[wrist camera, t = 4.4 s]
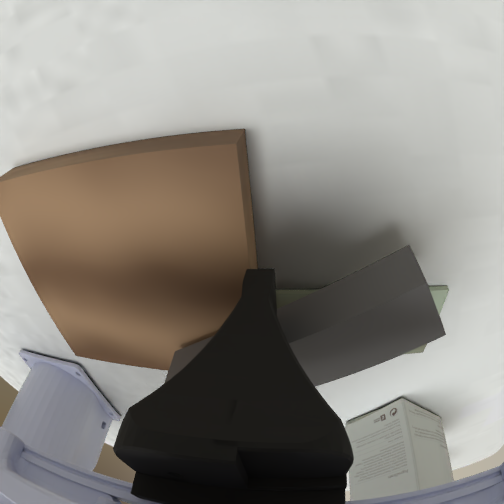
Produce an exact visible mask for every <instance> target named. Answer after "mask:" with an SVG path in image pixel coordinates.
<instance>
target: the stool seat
mask: <svg viewBox="0 0 504 504" xmlns="http://www.w3.org/2000/svg"><path fill="white" fill-rule="evenodd" d="M0 216H1V219H2V221H3V224H4V226H5V228H6V231H7V233H8V235H9V238H10V240H11V242H12V244H13V247H14V249H15V251H16V253H17V255H18V257H19V259H20V261H21V263H22V265H23V267H24V269H25V271H26V273H27V275H28V277H29V279H30V281H31V283H32V285H33V287H34V288H35V290H36V292H37V294H38V296H39V297H40V299H41V301H42V303H43V304H44V306H45V308H46V310H47V311H48V313H49V315H50V316H51V318H52V320H53V321H54V323H55V324H56V326H57V328H58V329H59V331H60V332H61V334H62V335H63V337H64V339H65V340H66V342H67V343H68V345H69V346H70V348H71V349H72V351H73V352H74V353H75V355H76V356H80V357H85V358H90V359H96V360H101V361H107V362H112V363H118V364H125V365H131V366H138V367H145V368H152V369H160V370H169V368H170V365H171V362H172V359H173V356H174V353H175V351H177V350H179V349H182V348H184V347H187V346H189V345H192V344H195V343H197V342H200V341H202V340H205V339H207V338H209V337H212V336H214V335H215V334H216V333H217V331H218V330H219V329H220V327H221V326H222V325H223V323H224V322H225V320H226V319H227V318H228V316H229V315H230V314H231V312H232V311H233V309H234V307H235V306H236V304H237V303H238V301H239V299H240V298H241V296H242V284H243V279H244V276H245V273H246V270H247V269H258V265H257V254H256V243H255V233H254V222H253V211H252V201H251V190H250V179H249V169H248V158H247V148H246V137H245V129H236V130H223V131H211V132H201V133H191V134H182V135H174V136H166V137H159V138H152V139H145V140H138V141H132V142H126V143H120V144H114V145H109V146H104V147H98V148H93V149H89V150H84V151H79V152H74V153H70V154H66V155H61V156H57V157H53V158H49V159H45V160H41V161H37V162H33V163H30V164H26V165H22V166H19V167H15V168H13V169H11V170H10V171H8V172H7V173H5V174H4V175H3V176H1V177H0ZM429 289H430V292H431V294H432V297H433V300H434V302H435V305H436V308H437V310H438V313H439V314H440V312H441V310H442V307H443V304H444V302H445V299H446V297H447V294H448V291H449V289H448V287H447V286H432V287H429ZM317 290H319V289H315V290H276V304H277V309H278V308H280V307H282V306H285V305H287V304H289V303H291V302H293V301H296V300H298V299H300V298H302V297H304V296H307V295H309V294H311V293H313V292H315V291H317ZM426 345H427V344H425V345H423V346H420V347H418V348H416V349H414V350H411V351H409V352H407V353H405V354H410V353H421V352H423V351H424V349H425V347H426Z"/></svg>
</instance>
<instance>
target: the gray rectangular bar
mask: <svg viewBox="0 0 504 504" xmlns="http://www.w3.org/2000/svg"><path fill="white" fill-rule="evenodd" d="M277 318H278V320H279V323H280V325H281V328H282V330H283V332H284V335H285V337H286V339H287V341H288V343H289V345H290V347H291V349H292V351H293V353H294V354H295V356H296V358H297V360H298V362H299V363H300V365H301V367H302V368H303V370H304V371H305V373H306V374H307V376H308V377H309V379H310V380H311V382H312V383H313V385H314V386H318V385H321V384H324V383H327V382H330V381H333V380H336V379H339V378H342V377H345V376H348V375H351V374H354V373H356V372H359V371H362V370H364V369H367V368H370V367H372V366H375V365H378V364H380V363H383V362H385V361H388V360H390V359H393V358H395V357H397V356H400V355H402V354H405V353H407V352H409V351H411V350H414V349H416V348H418V347H420V346H423V345H425V344H427V343H429V342H431V341H434V340H436V339H438V338H440V337H442V336H444V335H446V334H445V331H444V328H443V325H442V322H441V319H440V316H439V313H438V310H437V308H436V305H435V302H434V300H433V297H432V294H431V292H430V289H429V287H428V284H427V282H426V279H425V277H424V275H423V273H422V271H421V268H420V266H419V264H418V262H417V260H416V258H415V256H414V254H413V252H412V250H411V248H410V246H409V245H408V246H406V247H404V248H402V249H400V250H399V251H397V252H395V253H393V254H391V255H389V256H387V257H385V258H383V259H381V260H379V261H377V262H375V263H373V264H371V265H369V266H367V267H365V268H363V269H361V270H359V271H357V272H355V273H353V274H351V275H349V276H347V277H345V278H343V279H341V280H338V281H336V282H334V283H332V284H330V285H328V286H326V287H324V288H322V289H319V290H317V291H315V292H313V293H311V294H309V295H307V296H304V297H302V298H300V299H298V300H296V301H293V302H291V303H289V304H287V305H285V306H282V307H280V308H278V309H277ZM212 337H213V336H212ZM212 337H209V338H207V339H205V340H202V341H200V342H197V343H195V344H192V345H189V346H187V347H184V348H182V349H179V350H177V351H175V353H174V356H173V359H172V362H171V365H170V368H169V371H168V374H167V377H166V380H165V383H166V382H167V381H168V380H170V379H171V378H172V377H173V376H174V375H176V374H177V373H178V372H179V371H180V370H182V369H183V368H184V367H185V366H186V365H187V364H188V363H189V362H190V361H191V360H192V359H193V358H194V357H195V356H196V355H197V354H198V353H199V352H200V351H201V350H202V349H203V348H204V347H205V346H206V344H207V343H208V342H209V341H210V340H211V339H212ZM165 383H164V384H165Z"/></svg>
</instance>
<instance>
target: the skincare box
mask: <svg viewBox="0 0 504 504" xmlns="http://www.w3.org/2000/svg"><path fill="white" fill-rule="evenodd" d="M345 430H346V432H347V435H348V437H349V440H350V443H351V446H352V450H353V455H354V461H353V464H352V466H351V467H350V469H349V483H350V501H355V500H364V499H372V498H379V497H386V496H392V495H397V494H403V493H408V492H413V491H417V490H422V489H426V488H430V487H435V486H438V485H442V484H446V483H450V482H453V481H454V479H453V474H452V468H451V463H450V458H449V453H448V448H447V444H446V439H445V435H444V430H443V426H442V422H441V417H439V416H437V415H435V414H432V413H431V412H429V411H427V410H425V409H423V408H421V407H419V406H417V405H415V404H413V403H411V402H409V401H407V400H405V399H399V400H397V401H395V402H393V403H391V404H389V405H388V406H386V407H383V408H381V409H379V410H376V411H374V412H371V413H368V414H366V415H363V416H361V417H358V418H356V419H354V420H351V421H349V422H347V423H346V427H345Z"/></svg>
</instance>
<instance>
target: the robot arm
mask: <svg viewBox="0 0 504 504" xmlns="http://www.w3.org/2000/svg"><path fill="white" fill-rule="evenodd" d="M19 355H20V356H21V357H22V359H23V360H24V361H25V362H26V364H27V365H28V366H29V367H30V369H31V371H30V372H29V374H28V376H27V378H26V380H25V382H24V383H23V385H22V387H21V389H20V391H19V393H18V395H17V397H16V399H15V401H14V403H13V405H12V407H11V409H10V411H9V413H8V415H7V417H6V419H5V421H4V423H3V425H2V427H0V504H121V502H120V501H119V500H121V501H124V502H127V503H131V504H504V463H502V464H501V465H500V466H498V467H495V468H493V469H490V470H487V471H484V472H481V473H479V474H476V475H473V476H470V477H466V478H463V479H460V480H457V481H453V482H450V483H446V484H442V485H438V486H435V487H430V488H426V489H422V490H417V491H413V492H408V493H403V494H397V495H392V496H386V497H379V498H372V499H364V500H355V501H345V488H346V487H347V476H346V474H347V472H348V471H349V469H350V467H351V466H352V464H353V461H354V455H353V450H352V446H351V443H350V440H349V437H348V435H347V432H346V430H345V428H344V426H343V423H342V421H341V419H340V418H339V417H338V416H337V414H336V413H335V412H334V411H333V410H332V409H331V407H330V406H329V405H328V404H327V402H326V401H325V400H324V399H323V397H322V396H321V395H320V393H319V392H318V390H317V389H316V388H315V386H314V385H313V383H312V382H311V380H310V379H309V377H308V376H307V374H306V373H305V371H304V370H303V368H302V367H301V365H300V363H299V362H298V360H297V358H296V356H295V354H294V353H293V351H292V349H291V347H290V345H289V343H288V341H287V339H286V337H285V335H284V332H283V330H282V328H281V325H280V323H279V320H278V318H277V304H276V285H275V269H247V270H246V273H245V276H244V279H243V284H242V296H241V298H240V299H239V301H238V303H237V304H236V306H235V307H234V309H233V311H232V312H231V314H230V315H229V316H228V318H227V319H226V320H225V322H224V323H223V325H222V326H221V327H220V329H219V330H218V331H217V333H216V334H215V335H214V336H213V337H212V339H211V340H210V341H209V342H208V343H207V344H206V346H205V347H204V348H203V349H202V350H201V351H200V352H199V353H198V354H197V355H196V356H195V357H194V358H193V359H192V360H191V361H190V362H189V363H188V364H187V365H186V366H185V367H184V368H183V369H182V370H180V371H179V372H178V373H177V374H176V375H174V376H173V377H172V378H171V379H170V380H168V381H167V382H166V383H165V384H163V385H162V386H161V387H160V388H158V389H157V390H156V391H154V392H153V393H151V394H150V395H148V396H147V397H145V398H144V399H142V400H141V401H139V402H138V403H136V404H135V405H133V406H132V407H130V408H129V409H128V411H127V414H126V416H125V418H124V419H123V422H122V424H121V426H120V429H119V432H118V435H117V438H116V442H115V445H114V448H113V449H114V452H115V454H116V456H117V457H118V458H119V459H121V460H122V461H123V462H124V463H126V464H127V465H128V466H129V467H131V468H132V469H133V470H135V471H136V474H135V478H134V481H133V483H129V482H126V481H122V480H119V479H115V478H112V477H109V476H105V475H102V474H99V473H96V472H93V471H92V470H93V469H94V468H95V466H96V464H97V461H98V458H99V455H100V452H101V450H102V447H103V444H104V441H105V438H106V435H107V433H108V430H109V427H110V424H111V422H112V419H113V420H117V421H120V419H121V417H120V416H119V414H118V413H117V412H116V411H115V410H114V409H113V407H112V406H111V405H110V404H109V403H108V401H107V400H106V399H105V398H104V396H103V395H102V394H101V393H100V391H99V390H98V389H97V388H96V386H95V385H94V384H93V383H92V381H91V380H90V379H89V377H88V376H87V375H86V373H85V372H84V371H83V369H82V368H81V367H80V366H79V365H77V364H75V363H70V362H66V361H62V360H58V359H54V358H50V357H46V356H42V355H38V354H34V353H31V352H27V351H24V350H20V352H19Z"/></svg>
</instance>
